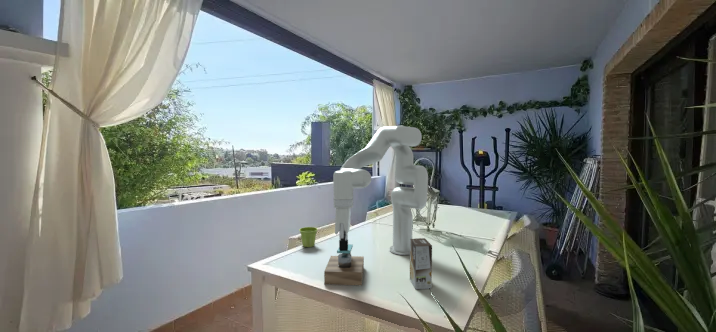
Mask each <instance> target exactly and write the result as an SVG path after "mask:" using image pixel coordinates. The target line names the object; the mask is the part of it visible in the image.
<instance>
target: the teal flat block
mask: <svg viewBox="0 0 716 332" xmlns="http://www.w3.org/2000/svg"><path fill="white" fill-rule="evenodd" d="M353 247H354V244H349V243H348V250H347V251H340V250H339V247H338V249H337V250H336V254H342V253H350V252H352V250H353Z"/></svg>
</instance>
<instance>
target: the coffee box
mask: <svg viewBox="0 0 716 332" xmlns="http://www.w3.org/2000/svg"><path fill="white" fill-rule="evenodd" d="M432 272H433V245H432V244H431V242H429V241H428V240H427V238H425V237H424V238H423V237H422V238H421V237H419V238H416V237H415V238H412V239H410V255H409V280H410V283H412V286H413V288H414V289H415V290H424V289H425V290H427V289H429V288H430V289H432V287H433V286H432V285H433V284H432V282H433V281H432V277H433V276H432V274H433V273H432ZM430 289H429V290H430Z"/></svg>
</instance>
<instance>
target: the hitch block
mask: <svg viewBox="0 0 716 332" xmlns="http://www.w3.org/2000/svg"><path fill="white" fill-rule="evenodd" d="M351 252H352V251H351ZM351 252H350V253H348V254H351V267H349V268H340V267H339V266H338V255H330V257H329V260H328V262H327V264H326V267H325V269H324V271H323V272H324V273H323V279H324V281H323V282H324V285H335V286H336V285H338V286H339V285H340V286H362V284H363V278H364V269H365V266H364V265H365V262H364V260H365V257H364V256H358V255H357V256H356V255H352V253H351Z"/></svg>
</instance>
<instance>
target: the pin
mask: <svg viewBox="0 0 716 332" xmlns="http://www.w3.org/2000/svg"><path fill="white" fill-rule="evenodd" d="M337 256H338V266H339V267H340V268H349V267H351V256H352V253H351V254H348V253H338V255H337Z"/></svg>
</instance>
